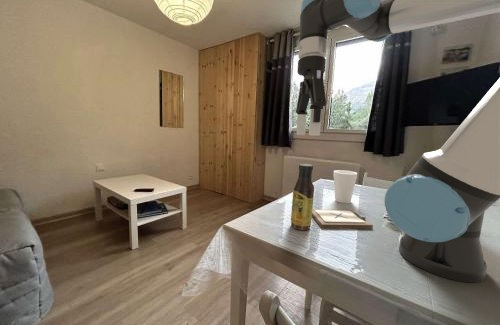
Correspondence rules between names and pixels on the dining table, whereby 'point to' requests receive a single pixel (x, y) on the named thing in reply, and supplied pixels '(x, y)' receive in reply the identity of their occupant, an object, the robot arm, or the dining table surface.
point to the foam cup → (344, 185)
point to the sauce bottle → (303, 199)
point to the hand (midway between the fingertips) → (306, 135)
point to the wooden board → (341, 219)
